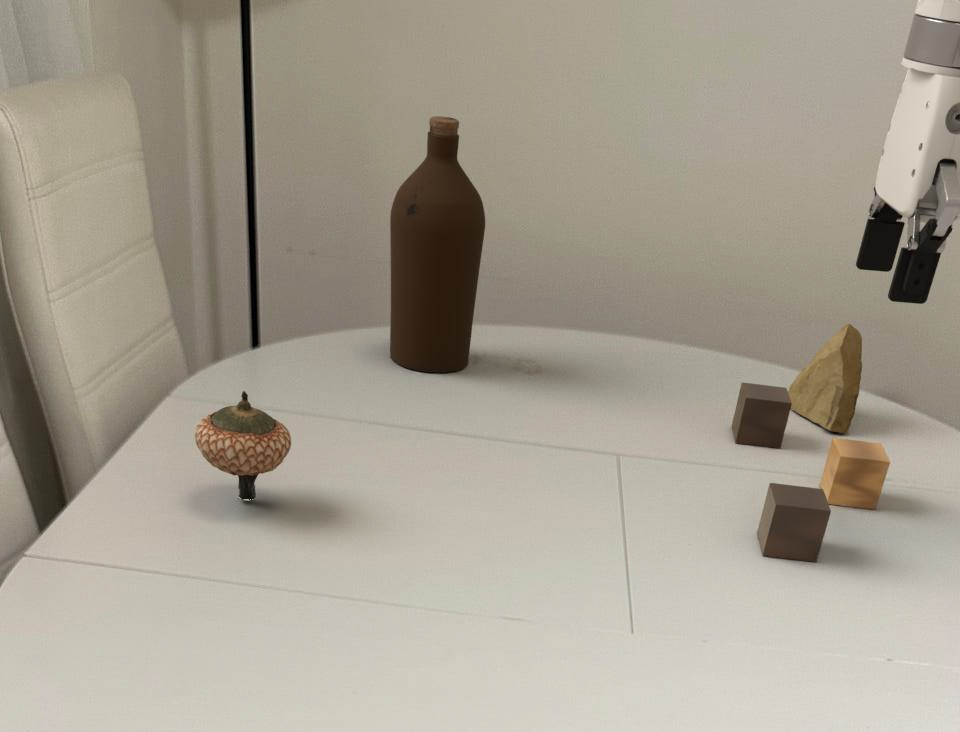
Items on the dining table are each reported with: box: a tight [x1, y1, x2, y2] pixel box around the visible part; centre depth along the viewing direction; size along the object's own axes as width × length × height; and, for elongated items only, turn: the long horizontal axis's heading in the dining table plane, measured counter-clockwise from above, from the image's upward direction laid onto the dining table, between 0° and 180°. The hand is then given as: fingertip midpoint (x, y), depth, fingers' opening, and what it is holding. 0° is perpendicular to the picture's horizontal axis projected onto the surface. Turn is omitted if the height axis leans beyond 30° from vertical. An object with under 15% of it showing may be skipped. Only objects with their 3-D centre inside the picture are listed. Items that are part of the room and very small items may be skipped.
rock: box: [787, 323, 863, 434], centre depth 139 cm, size 11×9×10 cm
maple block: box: [819, 437, 891, 510], centre depth 122 cm, size 5×5×5 cm
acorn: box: [194, 390, 292, 501], centre depth 106 cm, size 8×8×10 cm
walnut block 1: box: [731, 382, 792, 449], centre depth 133 cm, size 5×5×5 cm
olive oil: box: [389, 115, 486, 373], centre depth 136 cm, size 11×11×25 cm
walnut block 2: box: [756, 482, 832, 563], centre depth 111 cm, size 5×5×5 cm
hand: (888, 285), depth 104 cm, fingers open, 9 cm apart
